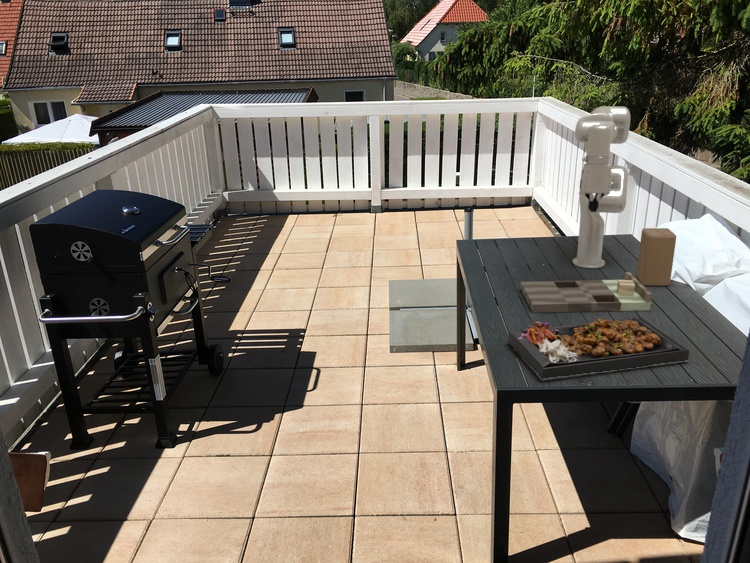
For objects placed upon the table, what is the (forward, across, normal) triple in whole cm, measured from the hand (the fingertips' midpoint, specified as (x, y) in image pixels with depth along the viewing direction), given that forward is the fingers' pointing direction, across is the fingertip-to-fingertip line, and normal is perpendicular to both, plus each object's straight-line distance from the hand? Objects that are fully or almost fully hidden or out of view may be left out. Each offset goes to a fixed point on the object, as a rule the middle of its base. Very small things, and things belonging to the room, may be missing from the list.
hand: (592, 211), depth 237 cm
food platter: (+30, -13, -55) cm, 64 cm away
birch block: (+26, +9, -15) cm, 32 cm away
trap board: (+29, -5, -13) cm, 32 cm away
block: (+29, +26, +3) cm, 39 cm away
